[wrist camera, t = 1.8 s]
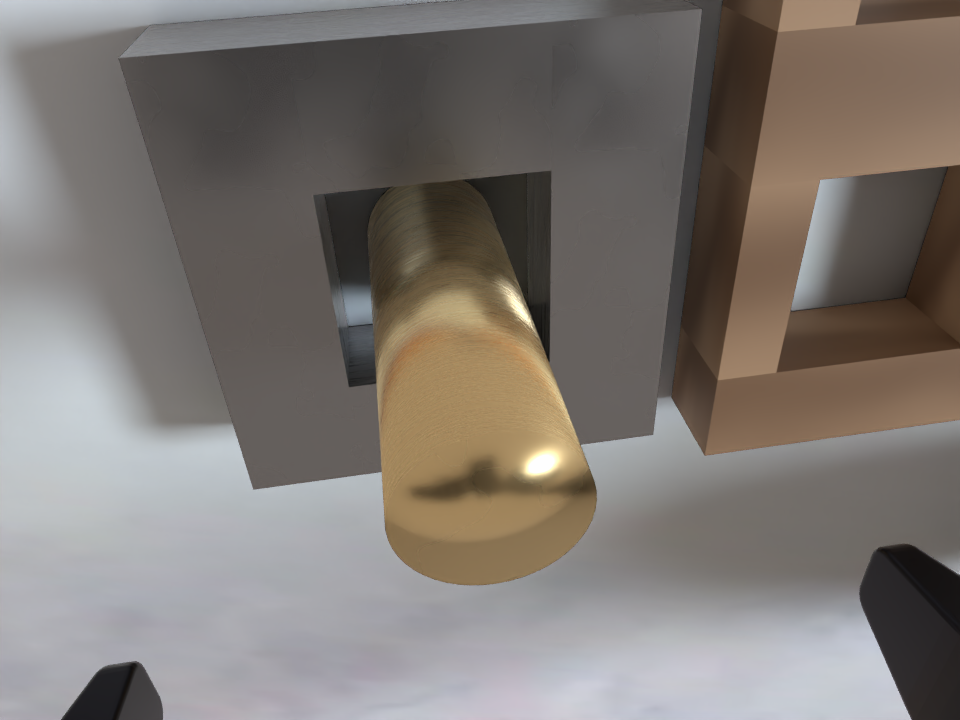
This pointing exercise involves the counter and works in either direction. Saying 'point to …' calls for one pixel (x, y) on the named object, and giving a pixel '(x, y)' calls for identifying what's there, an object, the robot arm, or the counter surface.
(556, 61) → the socket block
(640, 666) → the counter surface
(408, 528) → the peg
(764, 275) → the rack
